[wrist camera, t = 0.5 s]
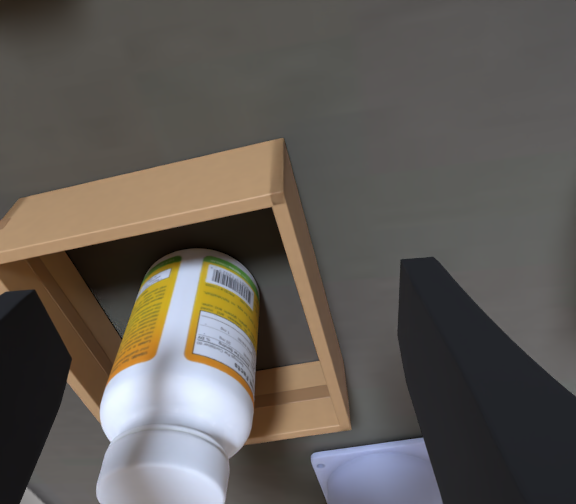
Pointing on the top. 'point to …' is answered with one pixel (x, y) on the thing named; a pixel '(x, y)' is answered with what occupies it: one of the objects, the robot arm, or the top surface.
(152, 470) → the supplement bottle
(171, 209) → the wooden box
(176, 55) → the top surface
